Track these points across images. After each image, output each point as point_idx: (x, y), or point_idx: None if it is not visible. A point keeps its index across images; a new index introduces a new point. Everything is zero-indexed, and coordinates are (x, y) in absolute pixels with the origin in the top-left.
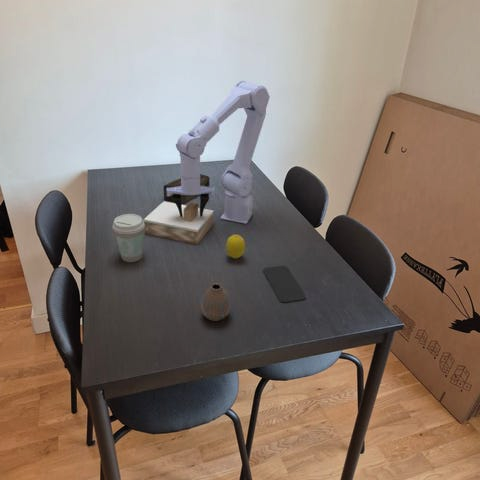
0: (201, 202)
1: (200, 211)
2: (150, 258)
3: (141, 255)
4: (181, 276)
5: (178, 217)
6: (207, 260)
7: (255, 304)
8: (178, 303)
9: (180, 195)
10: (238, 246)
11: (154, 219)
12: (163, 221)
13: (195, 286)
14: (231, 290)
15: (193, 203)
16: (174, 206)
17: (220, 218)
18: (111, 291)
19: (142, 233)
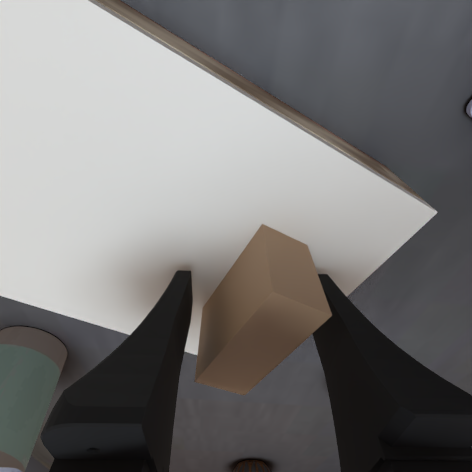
0: (339, 441)
1: (316, 334)
2: (97, 357)
3: (63, 364)
4: (194, 408)
5: (168, 277)
6: (271, 374)
7: (327, 457)
8: (189, 449)
9: (150, 468)
10: None
11: (18, 285)
12: (82, 307)
13: (225, 428)
14: (297, 438)
15: (284, 325)
16: (115, 102)
17: (467, 107)
18: (43, 426)
19: (25, 467)
